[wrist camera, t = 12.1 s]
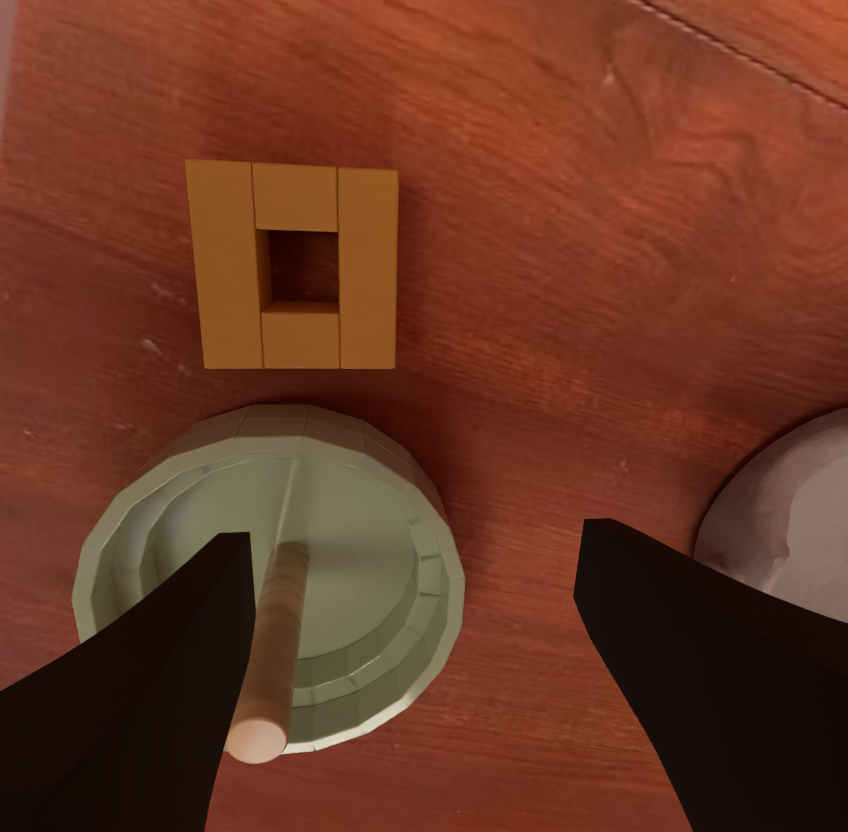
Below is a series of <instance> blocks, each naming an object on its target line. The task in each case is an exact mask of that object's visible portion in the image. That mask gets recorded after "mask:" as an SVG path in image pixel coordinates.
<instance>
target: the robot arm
mask: <svg viewBox="0 0 848 832" xmlns="http://www.w3.org/2000/svg"><path fill="white" fill-rule="evenodd" d="M573 598H574V601H575V603H576V606H577V608H578V611H579V613H580V616H581V618H582V621H583V623H584V625H585V627H586V630H587V632H588V634H589V636H590V638H591V640H592V642H593V644H594V646H595V647H596V649H597V651H598V652H599V654H600V656H601V658H602V659H603V661H604V663H605V664H606V666H607V668H608V670H609V671H610V673H611V675H612V676H613V678H614V680H615V681H616V683H617V685H618V686H619V688H620V690H621V691H622V693H623V695H624V696H625V698H626V700H627V701H628V703H629V705H630V707H631V708H632V710H633V712H634V713H635V715H636V717H637V718H638V720H639V722H640V723H641V725H642V727H643V728H644V730H645V732H646V734H647V735H648V737H649V739H650V741H651V743H652V745H653V746H654V748H655V750H656V752H657V754H658V756H659V758H660V760H661V762H662V765H663V767H664V769H665V771H666V773H667V775H668V777H669V779H670V781H671V784H672V786H673V788H674V790H675V792H676V794H677V796H678V798H679V801H680V803H681V805H682V807H683V809H684V812H685V814H686V816H687V819H688V821H689V823H690V825H691V828H692V830H693V832H848V623H845V622H842V621H839V620H836V619H833V618H830V617H827V616H824V615H822V614H819V613H816V612H813V611H810V610H807V609H805V608H802V607H800V606H797V605H795V604H792V603H789V602H787V601H784V600H782V599H779V598H777V597H774V596H772V595H769V594H767V593H764V592H762V591H760V590H757V589H755V588H753V587H750V586H748V585H746V584H744V583H742V582H739V581H737V580H735V579H733V578H731V577H729V576H727V575H724V574H722V573H720V572H718V571H716V570H714V569H712V568H710V567H708V566H706V565H704V564H702V563H700V562H698V561H696V560H694V559H692V558H690V557H688V556H686V555H684V554H682V553H680V552H678V551H676V550H674V549H673V548H671V547H669V546H667V545H665V544H663V543H661V542H659V541H657V540H655V539H653V538H651V537H650V536H648V535H646V534H644V533H642V532H640V531H638V530H636V529H634V528H632V527H630V526H628V525H626V524H623V523H621V522H619V521H616V520H614V519H611V518H603V519H584V525H583V532H582V539H581V546H580V553H579V560H578V567H577V573H576V580H575V587H574V594H573ZM255 620H256V605H255V592H254V579H253V565H252V552H251V539H250V532H226V533H218V534H217V535H216V536H215V537H213V538H212V539H211V540H210V541H209V542H208V543H207V544H206V545H205V546H203V547H202V548H201V549H200V550H199V551H198V552H197V553H196V554H195V555H194V556H192V557H191V558H190V559H189V560H188V561H187V562H186V563H185V564H184V565H182V566H181V567H180V568H179V569H178V570H177V571H176V572H174V573H173V574H172V575H171V576H170V577H169V578H168V579H166V580H165V581H164V582H163V583H162V584H161V585H159V586H158V587H157V588H156V589H154V590H153V591H152V592H151V593H149V594H148V595H147V596H146V597H144V598H143V599H142V600H141V601H139V602H138V603H137V604H135V605H134V606H133V607H132V608H130V609H129V610H128V611H127V612H125V613H124V614H123V615H121V616H120V617H119V618H118V619H116V620H115V621H113V622H112V623H111V624H109V625H108V626H106V627H105V628H104V629H102V630H101V631H99V632H98V633H96V634H95V635H93V636H92V637H90V638H89V639H87V640H86V641H84V642H83V643H81V644H80V645H78V646H77V647H75V648H74V649H72V650H71V651H69V652H68V653H66V654H64V655H63V656H61V657H59V658H58V659H56V660H54V661H53V662H51V663H49V664H47V665H46V666H44V667H42V668H40V669H39V670H37V671H35V672H33V673H32V674H30V675H28V676H26V677H25V678H23V679H21V680H19V681H18V682H16V683H14V684H12V685H11V686H9V687H7V688H5V689H4V690H2V691H0V832H204V830H205V824H206V819H207V814H208V809H209V804H210V799H211V794H212V790H213V786H214V782H215V778H216V774H217V770H218V767H219V763H220V760H221V757H222V753H223V750H224V746H225V743H226V739H227V736H228V733H229V729H230V726H231V722H232V719H233V715H234V712H235V709H236V705H237V702H238V698H239V695H240V691H241V688H242V684H243V681H244V677H245V674H246V670H247V667H248V663H249V658H250V652H251V646H252V640H253V634H254V627H255Z"/></svg>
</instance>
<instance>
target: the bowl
mask: <svg viewBox="0 0 848 832" xmlns="http://www.w3.org/2000/svg"><path fill="white" fill-rule="evenodd" d="M226 532H250V539H251V552H252V565H253V579H254V592H255V605H256V609H257V605H258V601H259V597H260V593H261V589H262V584H263V580H264V576H265V572H266V568H267V564H268V560H269V556H270V553H271V551H272V550H273V549H274V548H275V547H276V546H278V545H279V544H282V543H285V542H294V543H297V544H299V545H301V546H303V547H304V548H305V549H306V551H307V552H308V555H309V566H308V575H307V583H306V592H305V601H304V609H303V618H302V626H301V635H300V644H299V652H298V661H297V669H296V678H295V687H294V695H293V704H292V712H291V721H290V730H289V738H288V743H287V746H286V748H285V749H284V751H283V752H282V753H281V754H291V753H302V752H313V751H315V750H316V751H318V750H321V749H324V748H327V747H330V746H333V745H335V744H338V743H341V742H344V741H347V740H350V739H353V738H356V737H359V736H362V735H365V734H368V733H369V732H371V731H372V730H374V729H376V728H377V727H379V726H380V725H382V724H383V723H385V722H387V721H388V720H390V719H391V718H393V717H394V716H396V715H397V714H399V713H401V712H402V711H404V710H405V709H407V708H408V707H409V706H410V705H411V704H412V703H413V702H414V701H415V700H416V699H417V698H418V696H419V695H420V694H421V693H422V692H423V691H424V690H425V689H426V688H427V686H428V685H429V684H430V683H431V682H432V681H433V680H434V679H435V677H436V676H437V675H438V674H439V673H440V672H441V671H442V669H443V668H444V666H445V663H446V661H447V659H448V657H449V654H450V652H451V650H452V648H453V645H454V643H455V641H456V639H457V636H458V634H459V632H460V630H461V627H462V623H463V609H464V595H465V580H466V578H465V573H464V570H463V566H462V563H461V560H460V557H459V553H458V550H457V547H456V544H455V541H454V537H453V534H452V531H451V528H450V525H449V522H448V519H447V517H446V514H445V511H444V508H443V505H442V502H441V499H440V496H439V494H438V491H437V489H436V487H435V485H434V484H433V483H432V481H431V480H430V479H429V477H428V476H427V475H426V473H425V472H424V471H423V469H422V468H421V467H420V466H419V464H418V463H417V462H416V460H415V459H414V458H413V456H412V455H411V454H410V452H409V451H407V450H406V448H404V447H403V446H401V445H400V444H398V443H397V442H395V441H394V440H392V439H391V438H389V437H388V436H386V435H385V434H384V433H382V432H381V431H379V430H378V429H376V428H375V427H373V426H372V425H370V424H369V423H367V422H366V421H363V420H361V419H358V418H354V417H351V416H348V415H344V414H341V413H338V412H334V411H331V410H327V409H324V408H321V407H317V406H314V405H309V404H287V405H250V406H246V407H243V408H240V409H237V410H234V411H230V412H227V413H224V414H221V415H218V416H214V417H211V418H208V419H205V420H202V421H199V422H197V423H195V424H193V425H192V426H190V427H189V428H188V429H186V430H185V431H183V432H182V433H181V434H179V435H178V436H176V437H175V438H173V439H172V440H171V441H169V442H168V443H166V444H165V445H164V446H162V447H161V448H159V449H158V450H157V451H155V452H154V453H153V454H152V455H151V456H150V457H149V458H148V459H147V460H146V462H145V463H144V464H143V465H142V466H141V467H140V468H139V470H138V471H137V472H136V473H135V474H134V475H133V476H132V477H131V479H130V480H129V481H128V482H127V483H126V484H125V485H124V487H123V488H122V489H121V490H120V491H119V492H118V493H117V494H116V496H115V497H114V498H113V500H112V501H111V503H110V504H109V506H108V507H107V509H106V510H105V512H104V513H103V514H102V516H101V517H100V519H99V520H98V522H97V523H96V525H95V526H94V528H93V529H92V531H91V532H90V533H89V535H88V536H87V538H86V539H85V541H84V544H83V545H82V549H81V554H80V559H79V563H78V568H77V573H76V578H75V583H74V587H73V592H72V604H73V609H74V614H75V619H76V624H77V629H78V634H79V639H80V644H81V643H83V642H84V641H86V640H87V639H89V638H90V637H92V636H93V635H95V634H96V633H98V632H99V631H101V630H102V629H104V628H105V627H106V626H108V625H109V624H111V623H112V622H113V621H115V620H116V619H118V618H119V617H120V616H121V615H123V614H124V613H125V612H127V611H128V610H129V609H130V608H132V607H133V606H134V605H135V604H137V603H138V602H139V601H141V600H142V599H143V598H144V597H146V596H147V595H148V594H149V593H151V592H152V591H153V590H154V589H156V588H157V587H158V586H159V585H161V584H162V583H163V582H164V581H165V580H166V579H168V578H169V577H170V576H171V575H172V574H173V573H174V572H176V571H177V570H178V569H179V568H180V567H181V566H182V565H184V564H185V563H186V562H187V561H188V560H189V559H190V558H191V557H192V556H194V555H195V554H196V553H197V552H198V551H199V550H200V549H201V548H202V547H203V546H205V545H206V544H207V543H208V542H209V541H210V540H211V539H212V538H213V537H215V536H216V535H217V534H218V533H226ZM223 751H225V752H229V751H228V750H227V747H226V743H225V746H224V750H223ZM281 754H280V755H281Z"/></svg>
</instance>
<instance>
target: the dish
mask: <svg viewBox="0 0 848 832" xmlns="http://www.w3.org/2000/svg"><path fill="white" fill-rule="evenodd" d="M693 559H694V560H696V561H698V562H700V563H702V564H704V565H706V566H708V567H710V568H712V569H714V570H716V571H718V572H720V573H722V574H724V575H727V576H729V577H731V578H733V579H735V580H737V581H739V582H742V583H744V584H746V585H748V586H750V587H753V588H755V589H757V590H760V591H762V592H764V593H767V594H769V595H772V596H774V597H777V598H779V599H782V600H784V601H787V602H789V603H792V604H795V605H797V606H800V607H802V608H805V609H807V610H810V611H813V612H816V613H819V614H822V615H824V616H827V617H830V618H833V619H836V620H839V621H842V622H845V623H848V408H843V409H840V410H837V411H834V412H831V413H828V414H825V415H823V416H820V417H817V418H815V419H813V420H811V421H809V422H807V423H805V424H803V425H801V426H799V427H798V428H796V429H794V430H793V431H791V432H789V433H787V434H786V435H784V436H782V437H781V438H779V439H778V440H776V441H775V442H773V443H772V444H771V445H769V446H768V447H767V448H765V449H764V450H763V451H761V452H760V453H758V454H757V455H756V456H755V457H754V458H753V459H752V460H751V461H749V462H748V463H747V464H746V465H745V466H744V467H743V468H742V469H741V470H740V471H739V472H738V473H737V474H736V475H735V476H734V477H733V478H732V480H731V481H730V482H729V483H728V484H727V485H726V486H725V488H724V489H723V490H722V491H721V492H720V493H719V495H718V496H717V498H716V499H715V501H714V502H713V504H712V506H711V507H710V509H709V510H708V512H707V514H706V515H705V517H704V520H703V522H702V524H701V526H700V529H699V533H698V537H697V540H696V544H695V548H694V556H693Z"/></svg>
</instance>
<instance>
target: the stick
mask: <svg viewBox="0 0 848 832" xmlns="http://www.w3.org/2000/svg"><path fill="white" fill-rule="evenodd" d="M308 566H309V555H308V552H307V551H306V549H305V548H304V547H303V546H301V545H299V544H297V543H294V542H285V543H282V544H279V545H278V546H276V547H275V548H274V549H273V550H272V551H271V553H270V556H269V560H268V564H267V568H266V572H265V576H264V580H263V584H262V589H261V593H260V597H259V601H258V605H257V609H256V620H255V627H254V634H253V640H252V646H251V652H250V658H249V663H248V667H247V670H246V674H245V677H244V681H243V684H242V688H241V691H240V695H239V698H238V702H237V705H236V709H235V712H234V715H233V719H232V722H231V726H230V729H229V733H228V736H227V739H226V747H227V750H228V751H229V753H230V754H231V755H232V756H233V757H234V758H236V759H237V760H239V761H242V762H245V763H250V764H260V763H265V762H268V761H271V760H273V759H275V758H277V757H278V756H279V755H280V754H281V753H282V752H283V751H284V749H285V748H286V746H287V743H288V738H289V730H290V721H291V712H292V704H293V695H294V687H295V678H296V669H297V661H298V652H299V644H300V635H301V626H302V618H303V609H304V601H305V592H306V583H307V575H308Z"/></svg>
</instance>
